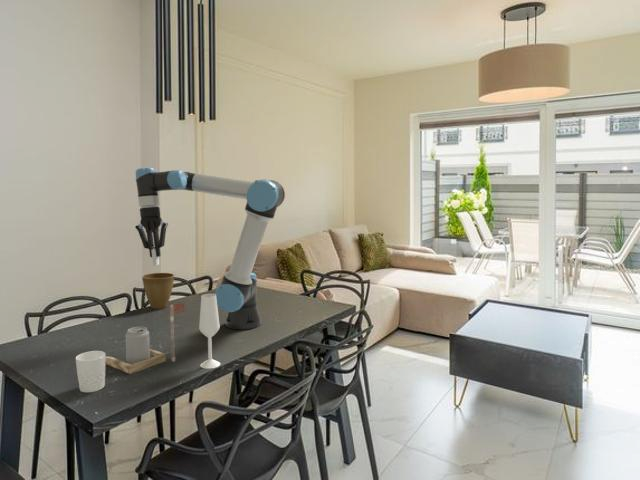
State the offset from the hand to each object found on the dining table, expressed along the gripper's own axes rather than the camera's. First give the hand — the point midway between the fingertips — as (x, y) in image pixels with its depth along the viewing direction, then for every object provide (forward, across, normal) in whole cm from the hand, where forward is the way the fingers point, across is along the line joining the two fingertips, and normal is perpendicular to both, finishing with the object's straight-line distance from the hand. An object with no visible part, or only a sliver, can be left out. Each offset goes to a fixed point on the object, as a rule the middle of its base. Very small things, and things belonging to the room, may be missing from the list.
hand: (156, 264), depth 182 cm
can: (+30, -4, +32) cm, 44 cm away
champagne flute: (+32, -28, +31) cm, 53 cm away
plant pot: (+25, +18, -37) cm, 48 cm away
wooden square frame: (+29, -2, +29) cm, 42 cm away
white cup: (+30, +1, +51) cm, 59 cm away
